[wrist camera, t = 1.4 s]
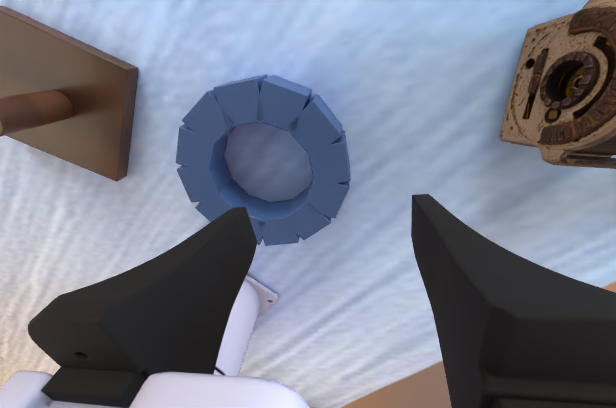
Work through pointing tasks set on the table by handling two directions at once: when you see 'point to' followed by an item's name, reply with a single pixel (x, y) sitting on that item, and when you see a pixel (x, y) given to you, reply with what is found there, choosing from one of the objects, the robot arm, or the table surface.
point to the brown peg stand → (65, 96)
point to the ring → (280, 113)
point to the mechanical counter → (567, 89)
